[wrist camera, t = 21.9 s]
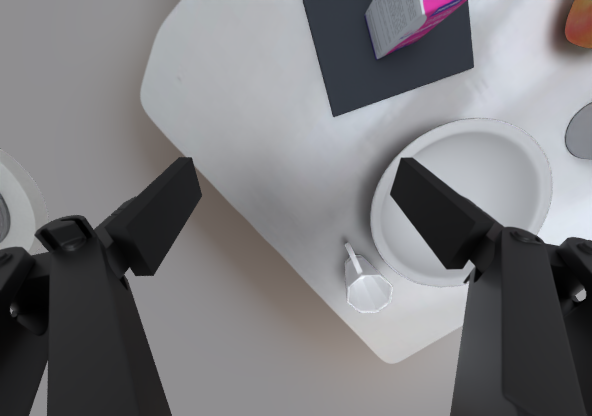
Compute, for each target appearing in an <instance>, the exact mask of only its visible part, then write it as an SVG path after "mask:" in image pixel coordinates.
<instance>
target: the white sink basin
mask: <svg viewBox="0 0 592 416" xmlns="http://www.w3.org/2000/svg"><path fill="white" fill-rule="evenodd" d="M401 157H413V158H414V159H415V160H417V161H418V162H419V163H420V164H422V165H423V166H424V167H425V168H427V169H428V170H429V171H431V172H432V173H433V174H434V175H436V176H437V177H438V178H439V179H441V180H442V181H443V182H444V183H446V184H447V185H448V186H449V187H451V188H452V189H453V190H455V191H456V192H457V193H458V194H460V195H462V196H464V197H466V198H468V199H469V200H471V201H472V202H473V203H474V204H476V206H478V207H480V208H481V209H482V210H483V211H485V212H486V213H487V214H489V215H490V216H491V217H493V218H494V219H495V220H496V221H498V222H499V223H500V224H502V225H503V226H504V227H507V226H508V227H516V228H521V229H524V230H526V231H529V232H531V233H533V234H534V235H536V236H537V234H538V232H539V231H540V229H541V227H542V225H543V223H544V221H545V219H546V216H547V214H548V211H549V207H550V204H551V198H552V188H553V183H552V173H551V168H550V165H549V162H548V159H547V157H546V155H545V153H544V151H543V150H542V148H541V147H540V145H539V144H538V143H537V142H536V140H535V139H533V138H532V137H531V136H530V135H529V134H528V133H526V132H525V131H524V130H522V129H520V128H518V127H517V126H515V125H512V124H510V123H507V122H504V121H500V120H496V119H488V118H470V119H463V120H457V121H453V122H450V123H446V124H444V125H441V126H439V127H436V128H434V129H432V130H430V131H428V132H426V133H425V134H423V135H421V136H420V137H418V138H417V139H415V140H414V141H413V142H411V143H410V144H409V145H408V146H406V147H405V148H404V149H403V150H402V151H401V152H400V153H399V154H398V155H397V156H396V157H395V158H394V160H393V161H392V162H391V163H390V164H389V166H388V167H387V169H386V170H385V172H384V174H383V175H382V177H381V179H380V181H379V183H378V185H377V188H376V190H375V193H374V196H373V200H372V204H371V212H370V225H371V233H372V237H373V241H374V244H375V246H376V248H377V251H378V252H379V254H380V256H381V257H382V259H383V260H384V261H385V262H386V264H387V265H388V266H389V267H390V268H391V269H393V270H394V271H395V272H396V273H398V274H399V275H401V276H402V277H404V278H406V279H408V280H410V281H413V282H415V283H418V284H422V285H426V286H433V287H454V286H461V285H466V284H469V281H468V282H467V283H466V284H464V283H463V282H464V280H465V279H466V278H467V276H468V275H469V273H470V272H471V271H472V269H473V268H474V267H475V266H474V264H473V263H472V262H471V261H470V260H469V261H468V262H467V264H466V265H465V266H464V268H463V269H450V270H446V268H445V267H444V266H443V264H442V263H441V262H440V260H439V259H438V258H437V257H436V255H435V254H434V253H433V251H432V250H431V249H430V247H429V246H428V245H427V243H426V242H425V241H424V239H423V238H422V237H421V235H420V234H419V233H418V231H417V230H416V229H415V227H414V226H413V225H412V223H411V222H410V221H409V219H408V218H407V217H406V215H405V214H404V213H403V211H402V210H401V209H400V207H399V206H398V205H397V204H396V202H395V201H394V200H393V198H392V197H391V196H390V192H391V188H392V185H393V182H394V179H395V175H396V172H397V169H398V166H399V162H400V159H401Z"/></svg>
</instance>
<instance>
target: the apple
mask: <svg viewBox="0 0 592 416" xmlns="http://www.w3.org/2000/svg"><path fill="white" fill-rule="evenodd" d="M565 35H566V38H567V40H568V41H569V42H571V43H573V44H575V45H577V46H581V47H584V48H591V49H592V0H574V2H573V4H572V7H571V9H570V12H569V15H568V18H567V21H566V27H565Z"/></svg>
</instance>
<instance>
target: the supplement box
mask: <svg viewBox="0 0 592 416" xmlns="http://www.w3.org/2000/svg"><path fill="white" fill-rule="evenodd" d="M466 1H467V0H373V1H372V2H371V4H370V6H369V8H368V10H367V11H366V13H365V14H364V17H365V21H366V25H367V28H368V32H369V36H370V40H371V44H372V48H373V52H374V55H375V59H376V60H378V59H380V58H382V57H384V56H386V55H388V54H390V53H392V52H394V51H397V50H399V49H401V48H403V47H405V46H408V45H410V44H413V43H415V42H417V41H418V40H419V39H420V38H421V37H423V36H424V35H425V34H426V33H428V32H429V31H430V30H431V29H433V28H434V27H435V26H436V25H437V24H439V23H440V22H441V21H442V20H444V19H445V18H446V17H447V16H448V15H450V14H451V13H452V12H453V11H455V10H456V9H457V8H458V7H459V6H461V5H462V4H463V3H464V2H466Z"/></svg>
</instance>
